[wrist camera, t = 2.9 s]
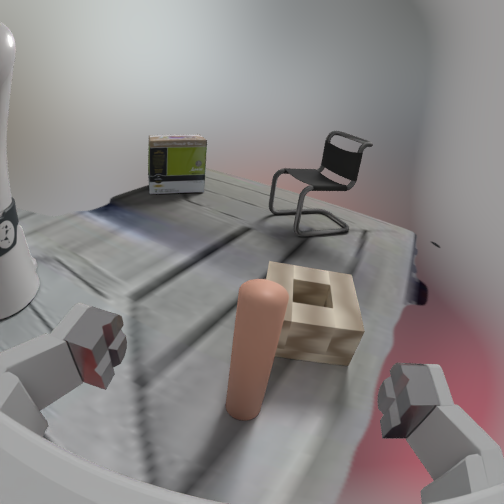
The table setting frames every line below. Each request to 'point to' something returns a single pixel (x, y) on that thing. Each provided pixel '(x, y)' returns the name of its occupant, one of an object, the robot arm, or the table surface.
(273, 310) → the dowel
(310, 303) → the socket block
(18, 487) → the robot arm
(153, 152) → the tea box
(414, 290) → the table surface
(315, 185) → the chair
